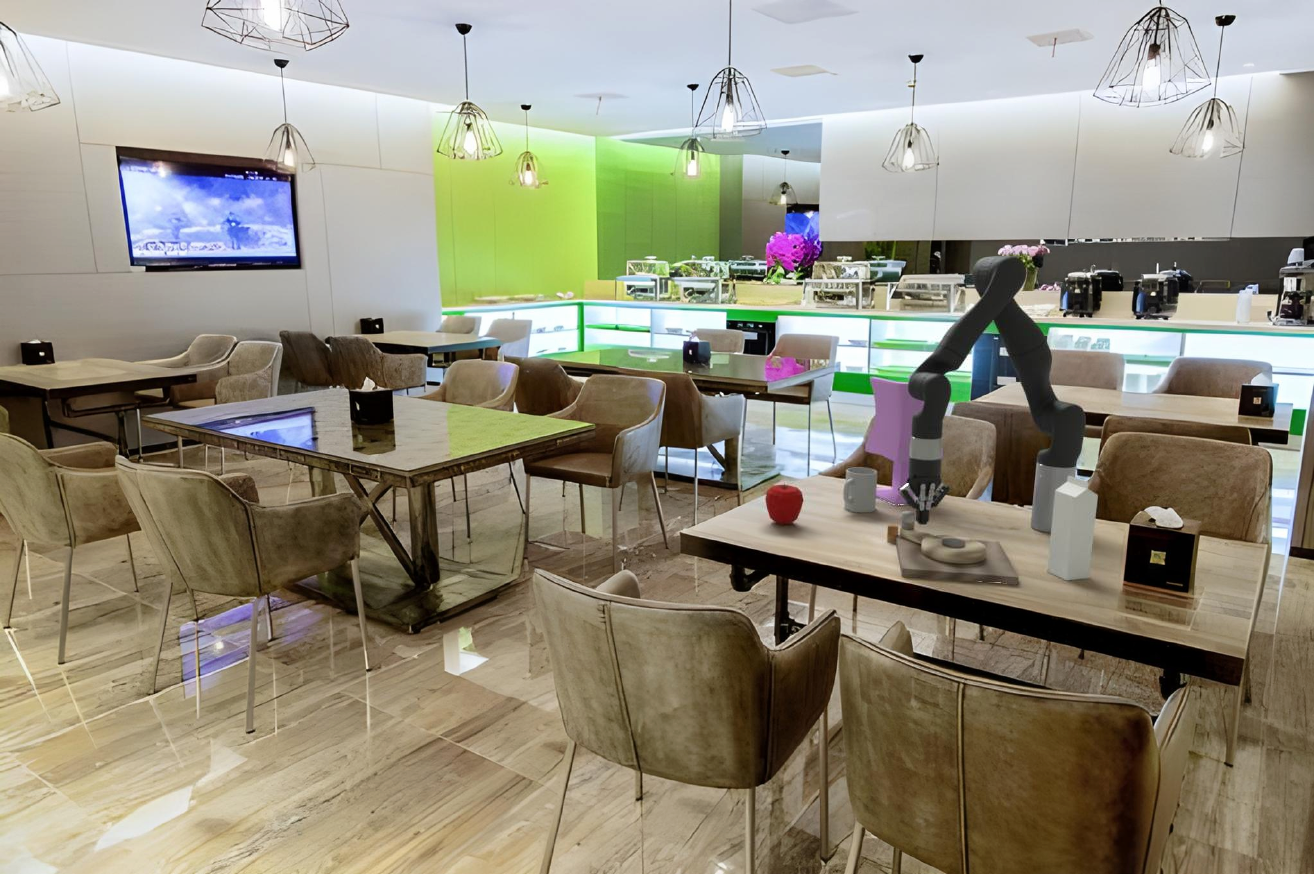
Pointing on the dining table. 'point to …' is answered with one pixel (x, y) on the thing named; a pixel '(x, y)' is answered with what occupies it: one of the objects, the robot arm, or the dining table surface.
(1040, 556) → the dining table surface
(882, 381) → the table lamp
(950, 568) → the base plate
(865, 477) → the mug
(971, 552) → the crank handle
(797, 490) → the apple
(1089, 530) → the milk
